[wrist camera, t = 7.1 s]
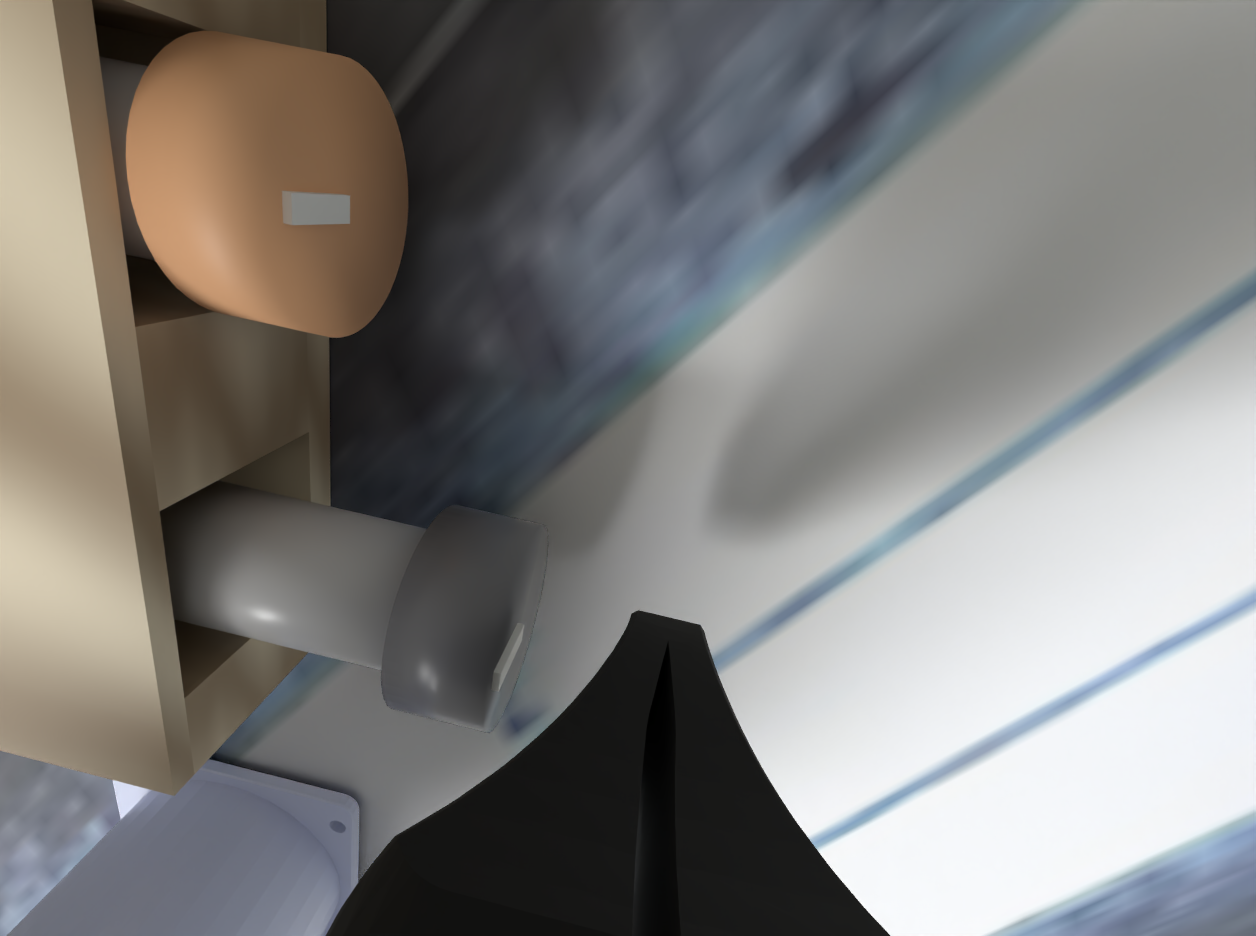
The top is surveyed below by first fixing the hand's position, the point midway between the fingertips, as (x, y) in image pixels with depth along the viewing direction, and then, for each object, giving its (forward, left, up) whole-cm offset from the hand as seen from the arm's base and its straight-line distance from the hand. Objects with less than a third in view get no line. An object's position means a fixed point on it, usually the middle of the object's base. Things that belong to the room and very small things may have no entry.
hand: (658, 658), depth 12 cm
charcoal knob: (0, +6, -2) cm, 6 cm away
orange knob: (+7, +10, -2) cm, 12 cm away
